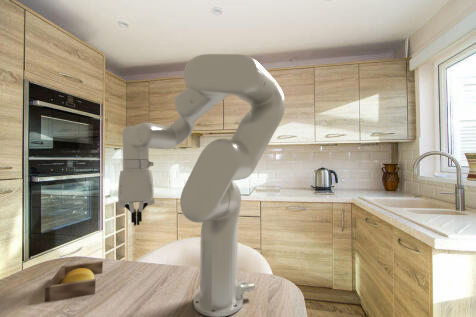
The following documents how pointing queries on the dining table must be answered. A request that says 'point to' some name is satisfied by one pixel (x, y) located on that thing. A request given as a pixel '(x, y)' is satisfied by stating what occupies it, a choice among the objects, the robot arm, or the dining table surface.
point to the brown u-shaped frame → (72, 283)
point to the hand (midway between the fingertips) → (136, 224)
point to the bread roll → (78, 275)
